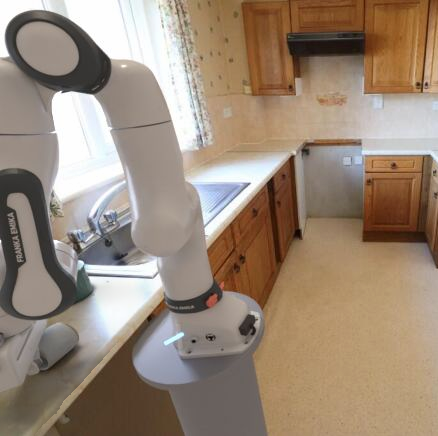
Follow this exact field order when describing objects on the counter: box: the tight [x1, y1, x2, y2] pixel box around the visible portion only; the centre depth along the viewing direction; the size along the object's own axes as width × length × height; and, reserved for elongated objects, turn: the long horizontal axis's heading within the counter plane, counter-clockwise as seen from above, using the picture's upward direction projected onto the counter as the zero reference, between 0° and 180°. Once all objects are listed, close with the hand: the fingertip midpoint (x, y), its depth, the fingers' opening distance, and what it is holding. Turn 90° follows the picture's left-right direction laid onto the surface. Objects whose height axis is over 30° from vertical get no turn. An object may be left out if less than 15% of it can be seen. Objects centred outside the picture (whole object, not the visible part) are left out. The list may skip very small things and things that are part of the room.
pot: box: [73, 267, 94, 304], centre depth 95 cm, size 10×10×8 cm
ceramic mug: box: [38, 321, 80, 371], centre depth 74 cm, size 11×8×8 cm
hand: (36, 369), depth 68 cm, fingers closed
